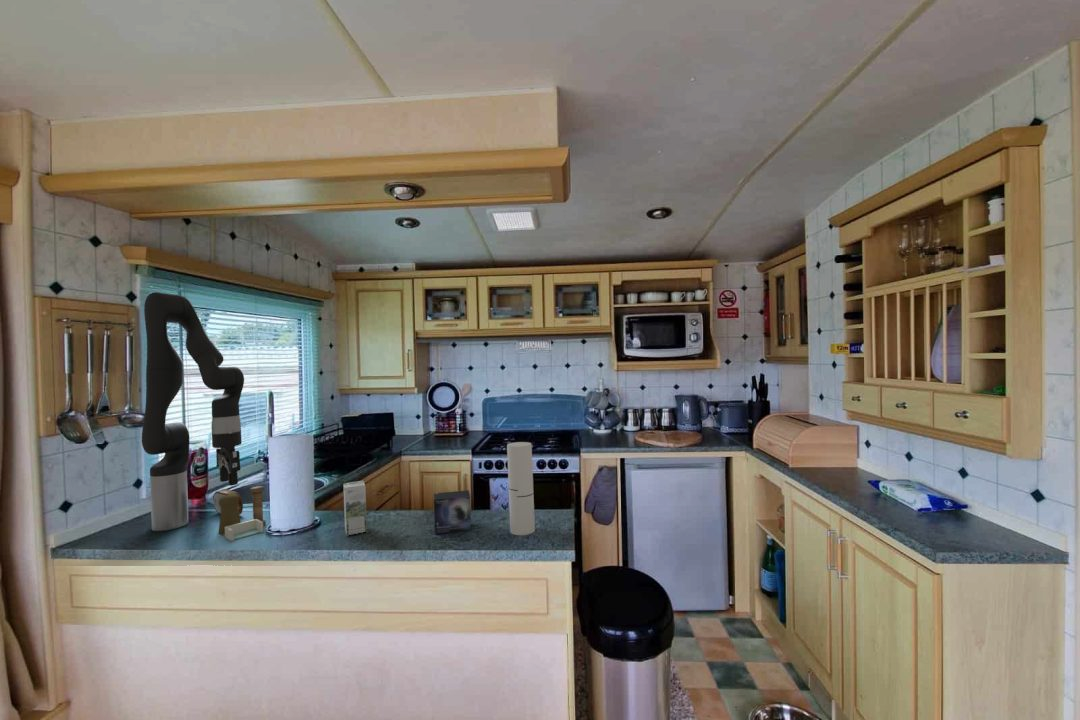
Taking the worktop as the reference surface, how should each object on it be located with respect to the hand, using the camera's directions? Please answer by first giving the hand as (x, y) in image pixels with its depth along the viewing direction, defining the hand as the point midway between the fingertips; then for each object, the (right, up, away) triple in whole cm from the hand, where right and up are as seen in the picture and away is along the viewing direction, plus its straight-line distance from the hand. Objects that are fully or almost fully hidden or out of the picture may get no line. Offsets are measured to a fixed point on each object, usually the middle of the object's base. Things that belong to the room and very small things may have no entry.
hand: (228, 483), depth 140 cm
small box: (+71, -12, -6) cm, 72 cm away
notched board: (+7, -15, -4) cm, 17 cm away
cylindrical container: (+92, -11, -10) cm, 93 cm away
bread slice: (-11, -16, +16) cm, 25 cm away
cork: (+1, -15, 0) cm, 15 cm away
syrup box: (+42, -13, -5) cm, 44 cm away
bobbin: (+7, -15, +4) cm, 16 cm away
